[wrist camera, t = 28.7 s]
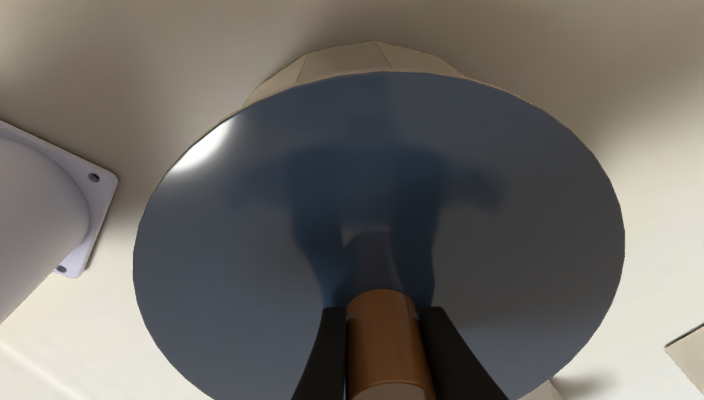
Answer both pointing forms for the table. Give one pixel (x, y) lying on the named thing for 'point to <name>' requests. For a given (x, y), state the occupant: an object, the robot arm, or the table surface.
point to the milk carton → (690, 357)
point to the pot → (350, 64)
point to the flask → (543, 393)
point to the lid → (378, 237)
